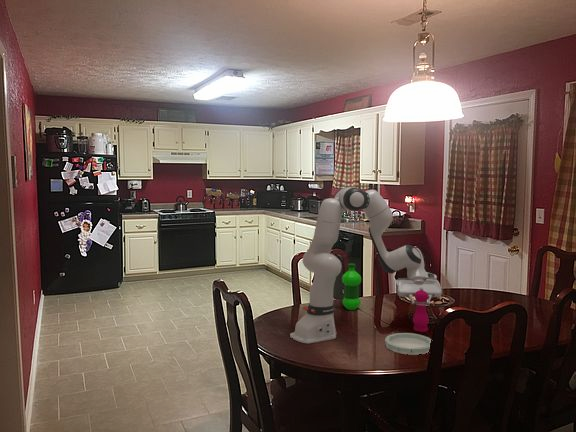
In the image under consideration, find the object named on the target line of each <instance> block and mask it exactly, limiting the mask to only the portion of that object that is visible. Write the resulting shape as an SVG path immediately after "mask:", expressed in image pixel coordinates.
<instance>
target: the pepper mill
mask: <svg viewBox="0 0 576 432" xmlns="http://www.w3.org/2000/svg"><path fill="white" fill-rule="evenodd" d="M414 300H416V304H415V305H416V310H415V312H414V314H413V316H412V317H413V318H412V323H413V324H414V325H413V330H414V331H415V332H419V333H420V332H421V333H424V332H427V331H429V329H428V327H429V326H428V324H429V323H430V318H429V316H428V312H427V301H426V300H428V294H427V292H425V291H423V288H422V287H420V290H419V291H417V292H416V293H415V297H414Z"/></svg>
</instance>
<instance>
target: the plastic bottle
mask: <svg viewBox="0 0 576 432" xmlns="http://www.w3.org/2000/svg"><path fill="white" fill-rule="evenodd" d="M347 268H348V270H347V271H346V272H344V274H342V276H341V281H342V282H341V283H342V284H344V285H343V286H344V287H343V288H344V289H343V299H342V305H343V307H345V309H347V310H350V311H355V310H356V309H357V308H359V307H360V305H361V299H360V297H359V296H360V295H359V294H360V293H359V292H360V291H359V290H360V288H359V287H360V284H361V283H362V277H361V275H360V274H359V272H357V271H356V270H355V269H356V263H348V264H347Z"/></svg>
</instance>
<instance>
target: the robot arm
mask: <svg viewBox="0 0 576 432" xmlns="http://www.w3.org/2000/svg"><path fill="white" fill-rule="evenodd" d="M361 210H362V211H363V212H364V214H365V215H366V217H367V219H368V221H369V227H368V233H369V236H370V240H371V242H372V244H373V247H374V250H375V251H376V254H377V256H378V260H379V263H380V266H381V269H382V270H383V271H384V272H386V273H387V274H391V275H392V274H395V273H397V272H398V271H400V270H402V269H405V268H406V271H407V272H406V275H407V277H403V278H402V277H398V279H396V280H395V285H396V286H397V287H396V289H397V290H396V291H397V296H399V297H402V298H403V297H405V298H406V297H408V299H409V300H410V302H411V305H416V299H415V293H416V292H417V291H419V290H420V287H422V288H423V291H425V292H427V294H428V299H427V300H426V301H427V305H430V304H431V299H432V298H440V297H441V295H442V294H443V291H442V290H443V289H442V286H441V284H440V282H439V280H438V279H437V278H438V276H437V275H436V274H434V273H431V272H427V271H426V269H425V267H426V265H425V259H424V256H423V254H422V251H421V250H420V249H419V248H418V247H415V246H413V245H410V244H406V245H403V246H401V247H398V248H397V249H394V250H392V251H388V250H387V248H386V246H385V244H384V241H383V239H382V235H383V233H384V232H385V231H386V230H387V229H388V228H389V227H390V226H391V223H392V222H393V217H394V216H393V212H392V210H391V208H390V207H389V205H388V203H387V201H386V200H385V199H384V198H383V196H382V195H381V194H380V193H379V192H378V191H377V190H376V189H368V190H366V191H364V190H363V189H361V188H358V187H352V186H346V187H342V188H340V189H338V190H337V191H336V192H335V194H334V196H333V197H332V198H331V197H330V198H325V199H324V200H322V202H321V203H320V207H319V210H318V213H317V217H316V221H315V223H316V224H315V228H314V233H313V238H312V241H311V243H310V245H309V247H308V249H307V251H305V252H304V254H303V256H302V264H303V266H304V267H305V268H306V269H307V270H308V271H309V272H311V273H313V274H314V277H313V281H312V284H311V285H310V286H309V303H308V305H307V306H306V305H303V306H302V310H303V311H306V313H305V314H304V315H303V316H301V318H299V320H298V321H297V322H296V323H295V326H294V327H295V329H294V332H290V333H289V337H290V338H291V339H292V338H293V339H292V340H294V341H297V342H299V343H303V344H309V345H310V344H312V343H313V344H314V343H319V342H326V341H330V340H335V339H336V338H337V334H338V333H337V330H336V324H335V318H334V317H335V316H334V315H335V314H334V312H335V304H334V288H335V283H336V280H337V277H338V276H339V274H341V271H342V268H343V266H342V262H341V260H340V259H339V258H338V257H337V256H336V255H334V254H333V253H331V250H332V248H333V247H334V245H335V244H336V242H338V240H339V235H340V234H339V233H340V228H341V222H342V217H343V214H344V213H345V212H346V211H347V212H358V211H361ZM427 305H426V306H427Z"/></svg>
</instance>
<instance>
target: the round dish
mask: <svg viewBox="0 0 576 432" xmlns="http://www.w3.org/2000/svg"><path fill="white" fill-rule="evenodd" d="M431 340H432V339H431V338H430V337H429V336H426V335H422V334H418V333H412V332H396V333H391V334H389V335H387V336H386V337H385V339H384V345H385V348H387V349H388V350H389V351H391V352H394V353H397V354H401V355H406V356H407V354H408V356H418V355H419V354H422V355H427V354H429V353H430V352H429V349H430V343H431ZM428 352H429V353H428ZM426 353H427V354H426ZM419 356H420V355H419Z"/></svg>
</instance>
